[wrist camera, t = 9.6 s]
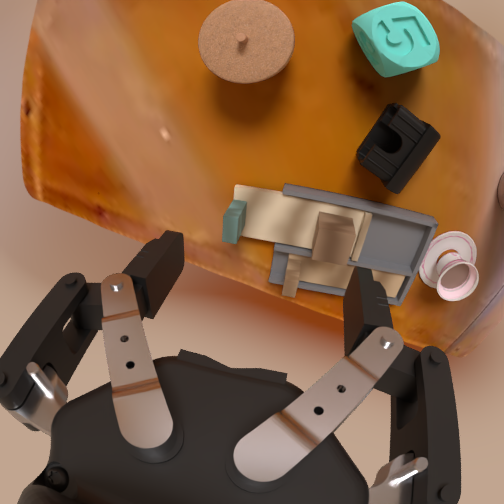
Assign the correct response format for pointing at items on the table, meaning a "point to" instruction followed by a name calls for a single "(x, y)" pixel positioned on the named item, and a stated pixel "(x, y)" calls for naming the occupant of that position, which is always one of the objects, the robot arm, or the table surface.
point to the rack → (368, 241)
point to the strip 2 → (331, 275)
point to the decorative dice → (396, 39)
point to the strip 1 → (285, 218)
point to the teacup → (451, 266)
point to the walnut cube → (333, 238)
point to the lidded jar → (246, 41)
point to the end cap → (396, 146)
